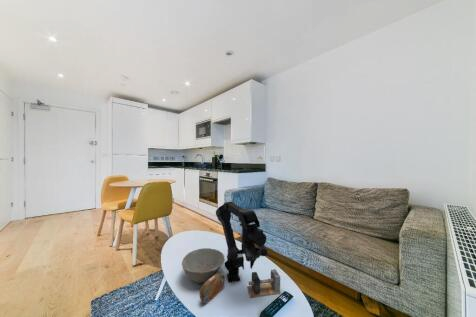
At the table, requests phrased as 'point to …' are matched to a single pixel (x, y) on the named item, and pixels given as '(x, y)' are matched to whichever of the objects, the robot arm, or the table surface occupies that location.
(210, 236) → the table surface
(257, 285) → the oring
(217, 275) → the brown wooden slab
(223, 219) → the robot arm
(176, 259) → the table surface
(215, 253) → the ceramic bowl
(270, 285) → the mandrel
